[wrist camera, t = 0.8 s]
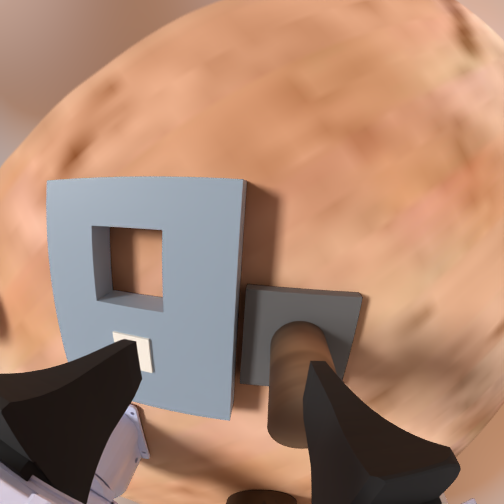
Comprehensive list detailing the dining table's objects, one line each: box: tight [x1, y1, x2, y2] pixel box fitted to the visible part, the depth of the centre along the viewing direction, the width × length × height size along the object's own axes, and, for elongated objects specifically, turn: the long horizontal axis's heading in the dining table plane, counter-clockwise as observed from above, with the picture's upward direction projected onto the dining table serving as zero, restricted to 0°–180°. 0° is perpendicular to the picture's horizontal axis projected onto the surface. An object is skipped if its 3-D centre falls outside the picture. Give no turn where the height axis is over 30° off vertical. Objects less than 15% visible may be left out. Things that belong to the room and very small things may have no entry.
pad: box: [240, 284, 363, 386], centre depth 20 cm, size 8×8×1 cm
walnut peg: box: [267, 321, 337, 449], centre depth 16 cm, size 4×4×8 cm
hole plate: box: [46, 177, 247, 421], centre depth 19 cm, size 18×15×3 cm
